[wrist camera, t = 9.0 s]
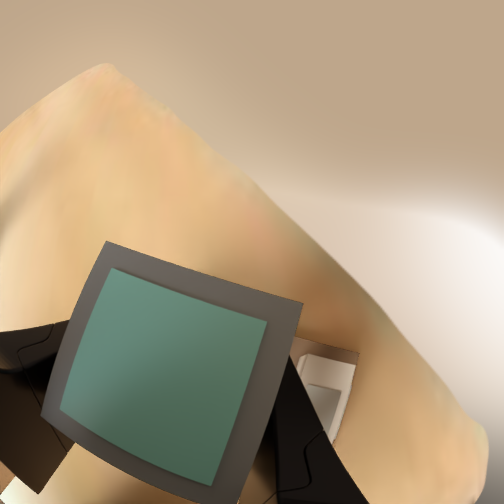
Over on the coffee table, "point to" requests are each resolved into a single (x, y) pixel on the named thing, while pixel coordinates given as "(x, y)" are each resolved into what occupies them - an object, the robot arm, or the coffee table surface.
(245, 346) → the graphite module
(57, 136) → the coffee table surface
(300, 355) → the board
